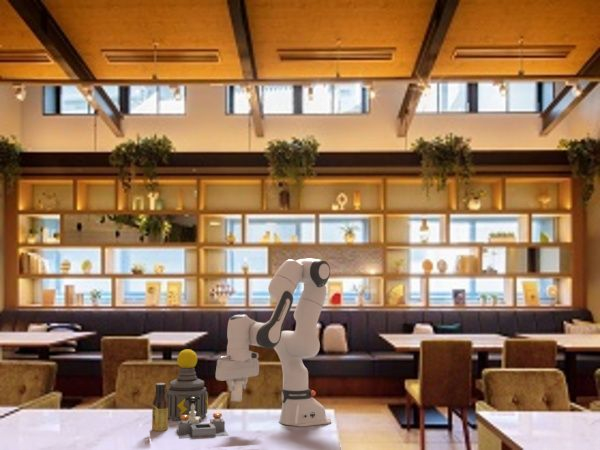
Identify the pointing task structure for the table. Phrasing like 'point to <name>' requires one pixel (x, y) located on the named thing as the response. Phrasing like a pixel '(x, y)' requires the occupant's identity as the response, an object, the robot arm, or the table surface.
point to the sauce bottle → (160, 409)
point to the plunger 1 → (184, 418)
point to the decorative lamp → (186, 389)
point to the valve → (192, 414)
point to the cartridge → (237, 390)
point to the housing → (201, 429)
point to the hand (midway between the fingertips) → (237, 389)
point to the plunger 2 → (217, 416)
